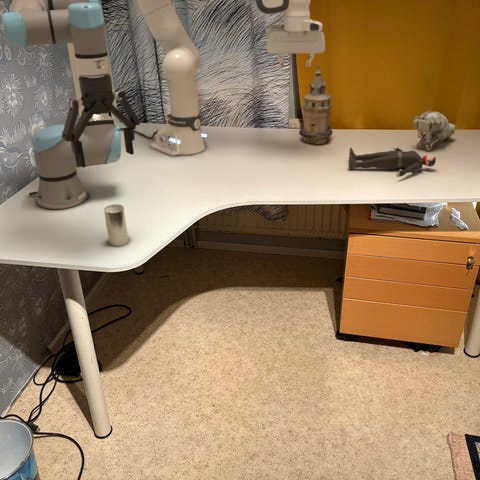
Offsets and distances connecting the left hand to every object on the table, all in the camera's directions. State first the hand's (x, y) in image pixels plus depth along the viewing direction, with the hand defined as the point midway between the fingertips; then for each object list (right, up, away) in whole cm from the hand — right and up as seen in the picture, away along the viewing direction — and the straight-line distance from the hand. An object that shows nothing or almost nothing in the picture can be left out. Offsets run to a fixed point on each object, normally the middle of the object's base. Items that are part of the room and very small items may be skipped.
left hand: (106, 159), depth 137 cm
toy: (+88, +5, +56) cm, 105 cm away
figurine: (+111, +17, +76) cm, 135 cm away
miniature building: (+65, +20, +83) cm, 108 cm away
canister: (0, -21, +12) cm, 24 cm away
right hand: (+54, +41, +52) cm, 85 cm away
